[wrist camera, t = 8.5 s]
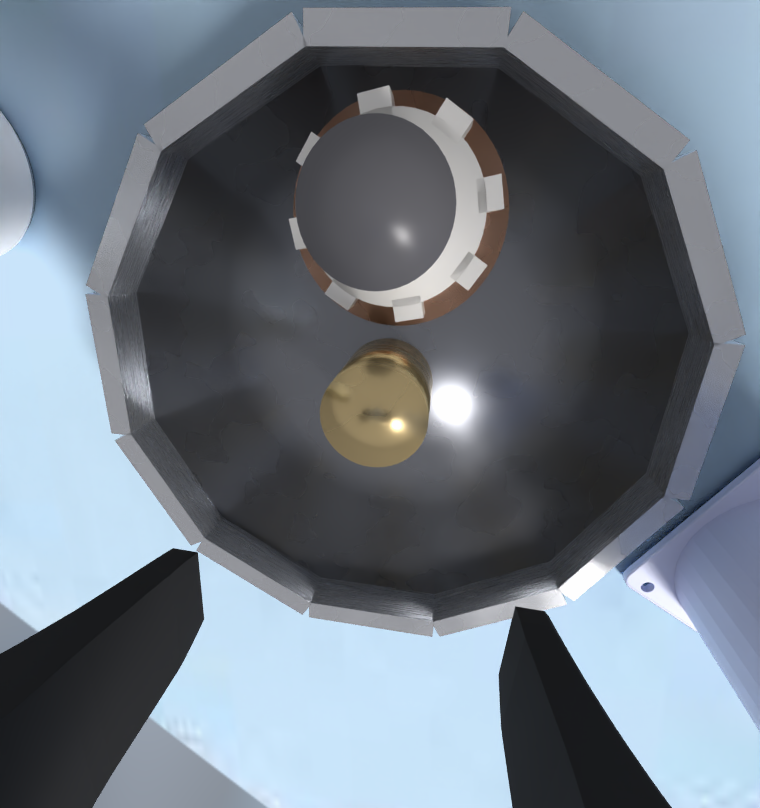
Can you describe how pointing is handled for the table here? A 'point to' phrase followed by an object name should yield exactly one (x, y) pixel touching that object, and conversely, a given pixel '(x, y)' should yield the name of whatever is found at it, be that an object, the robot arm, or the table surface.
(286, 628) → the table surface
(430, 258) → the gear
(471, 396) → the bowl
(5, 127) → the can
